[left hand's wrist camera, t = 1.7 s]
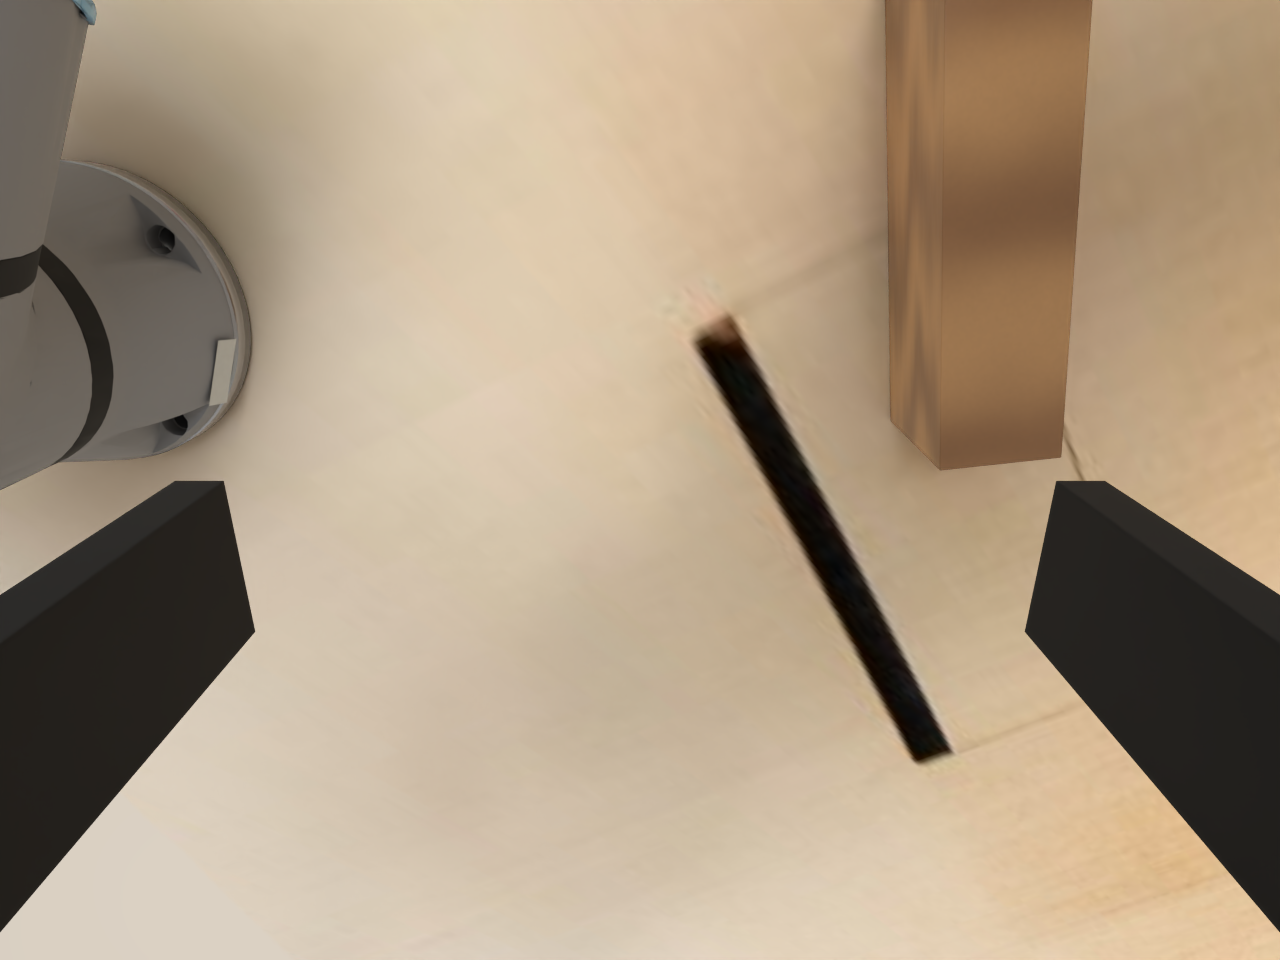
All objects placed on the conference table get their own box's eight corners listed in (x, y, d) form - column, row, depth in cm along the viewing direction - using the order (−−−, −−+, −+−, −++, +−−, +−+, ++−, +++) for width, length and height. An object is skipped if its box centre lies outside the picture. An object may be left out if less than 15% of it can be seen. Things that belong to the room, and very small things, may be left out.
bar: (990, 409, 42) (1061, 457, 35) (890, 421, 43) (939, 470, 35) (1006, -63, 35) (1101, -133, 27) (884, -45, 35) (945, -109, 28)
